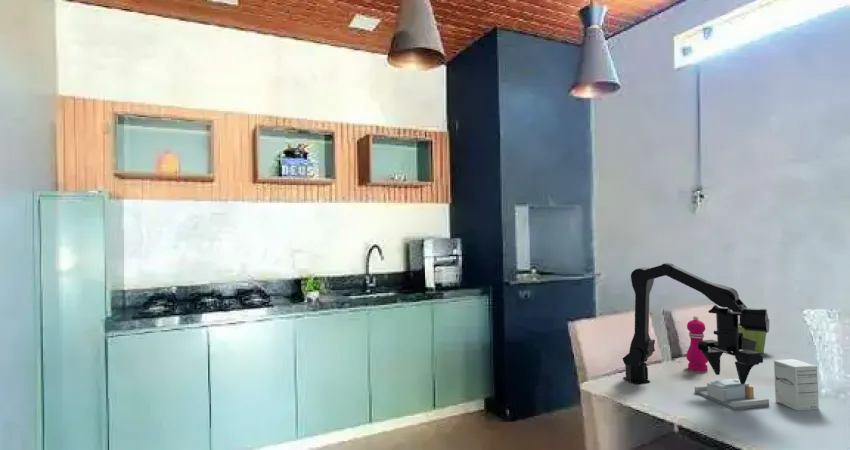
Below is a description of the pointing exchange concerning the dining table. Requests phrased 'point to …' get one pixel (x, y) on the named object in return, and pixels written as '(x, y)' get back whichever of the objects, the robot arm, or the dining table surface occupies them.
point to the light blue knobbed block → (732, 388)
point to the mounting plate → (735, 404)
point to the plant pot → (755, 338)
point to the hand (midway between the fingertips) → (729, 379)
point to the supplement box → (796, 384)
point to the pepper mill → (696, 346)
